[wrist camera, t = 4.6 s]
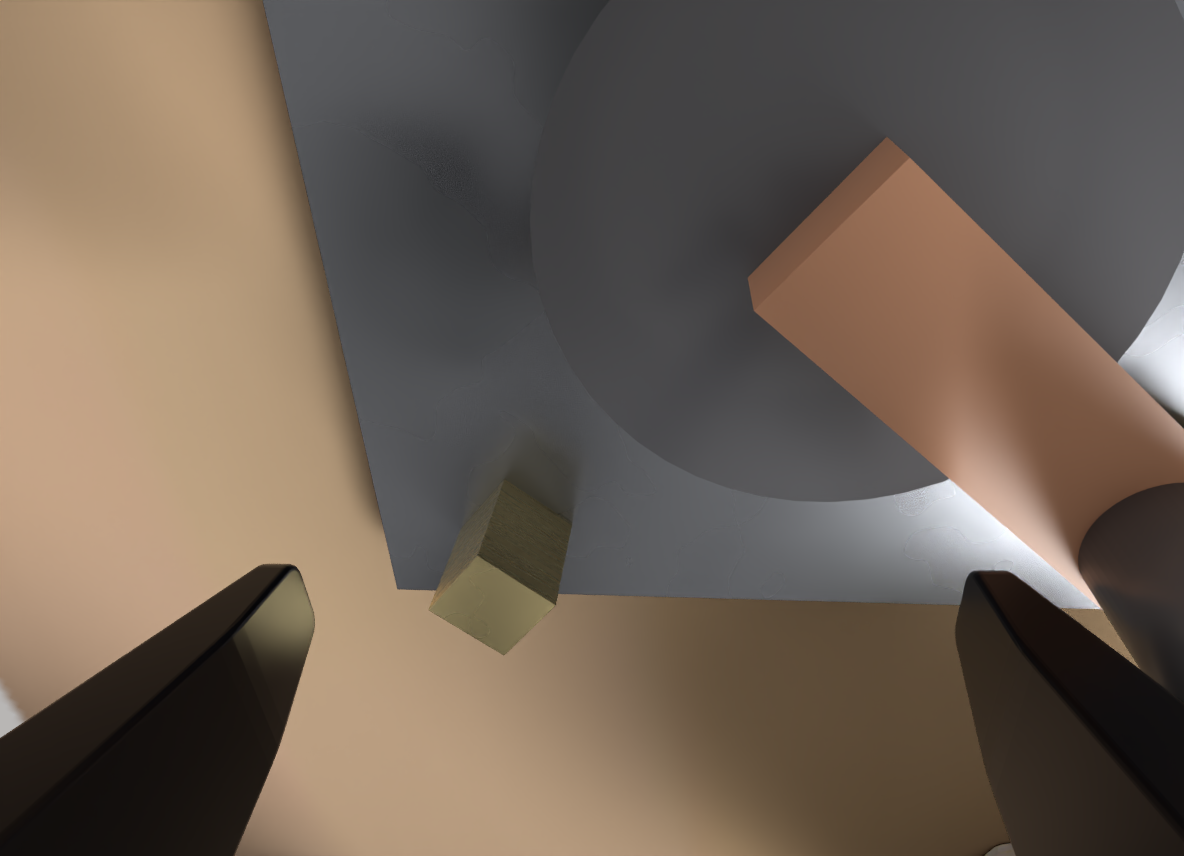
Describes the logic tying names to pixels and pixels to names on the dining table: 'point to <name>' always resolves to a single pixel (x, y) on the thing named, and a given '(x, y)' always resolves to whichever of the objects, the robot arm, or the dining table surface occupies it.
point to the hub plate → (553, 352)
